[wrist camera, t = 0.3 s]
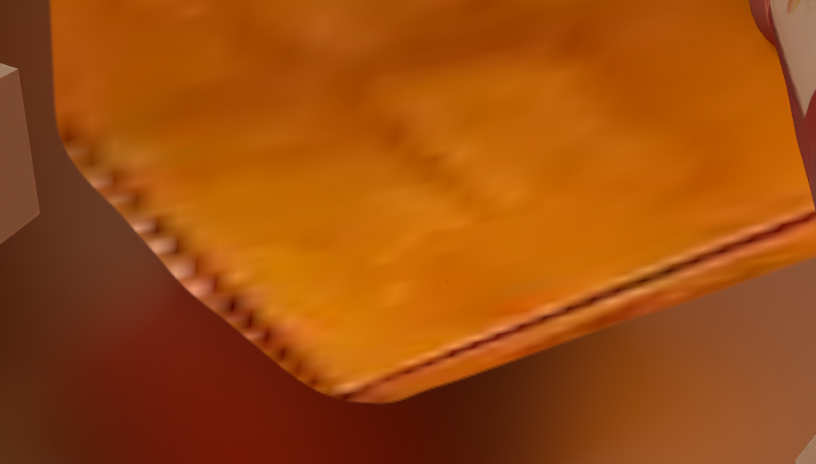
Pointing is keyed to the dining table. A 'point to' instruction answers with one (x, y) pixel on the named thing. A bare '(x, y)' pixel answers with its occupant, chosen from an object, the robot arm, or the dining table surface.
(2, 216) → the robot arm
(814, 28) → the ketchup bottle
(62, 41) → the dining table surface
